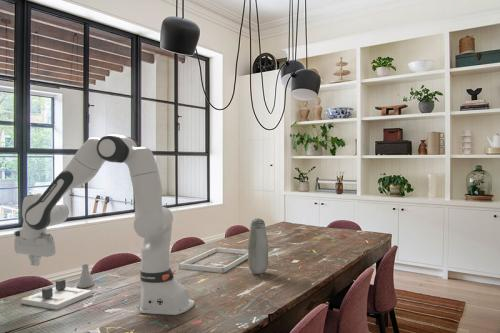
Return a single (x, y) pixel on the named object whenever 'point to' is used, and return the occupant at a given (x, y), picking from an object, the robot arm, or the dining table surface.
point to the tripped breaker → (47, 292)
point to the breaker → (60, 284)
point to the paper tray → (214, 269)
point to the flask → (85, 277)
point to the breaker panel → (57, 298)
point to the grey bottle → (258, 247)
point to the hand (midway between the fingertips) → (35, 265)
